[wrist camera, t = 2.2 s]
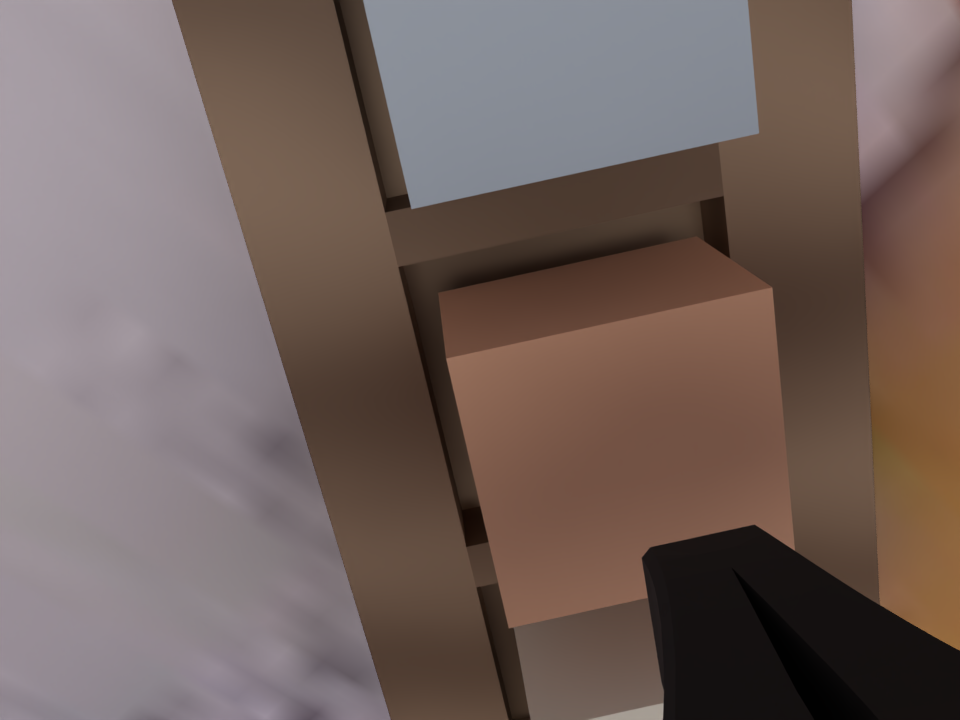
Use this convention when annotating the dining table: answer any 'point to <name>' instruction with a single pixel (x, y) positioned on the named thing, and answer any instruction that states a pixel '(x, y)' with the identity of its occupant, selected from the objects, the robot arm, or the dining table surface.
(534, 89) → the button slate
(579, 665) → the cream block
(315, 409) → the board
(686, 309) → the salmon brown square block
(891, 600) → the dining table surface
